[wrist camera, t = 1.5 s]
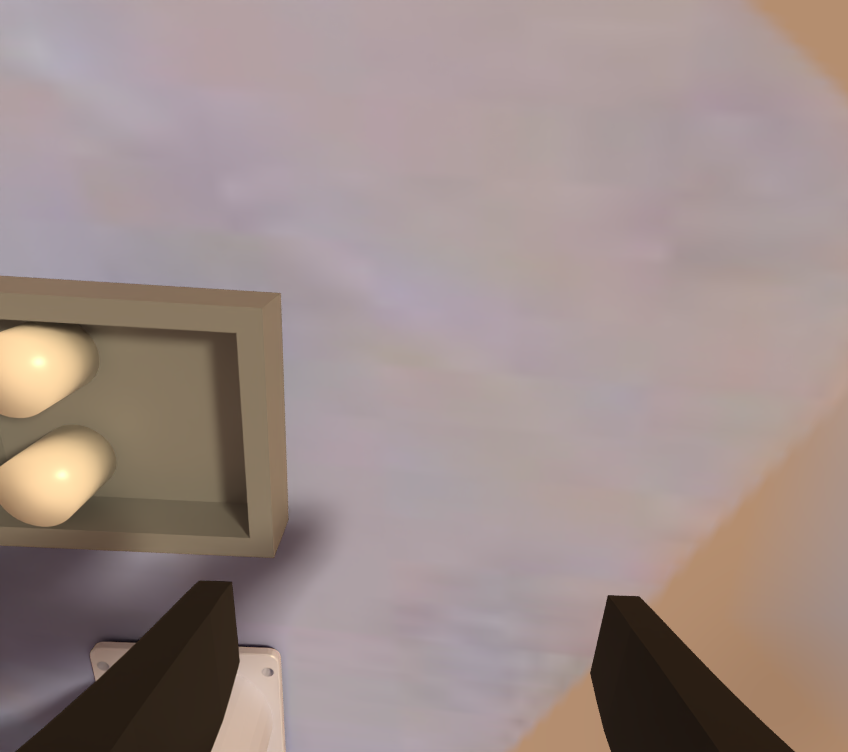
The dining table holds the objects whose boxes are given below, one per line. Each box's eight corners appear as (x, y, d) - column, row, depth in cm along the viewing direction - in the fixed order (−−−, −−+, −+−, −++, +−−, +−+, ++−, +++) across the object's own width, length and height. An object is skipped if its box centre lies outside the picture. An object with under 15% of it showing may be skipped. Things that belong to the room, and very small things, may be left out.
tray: (290, 513, 21) (270, 565, 18) (9, 500, 20) (-56, 551, 18) (283, 290, 18) (258, 311, 15) (-50, 270, 17) (-141, 287, 14)
